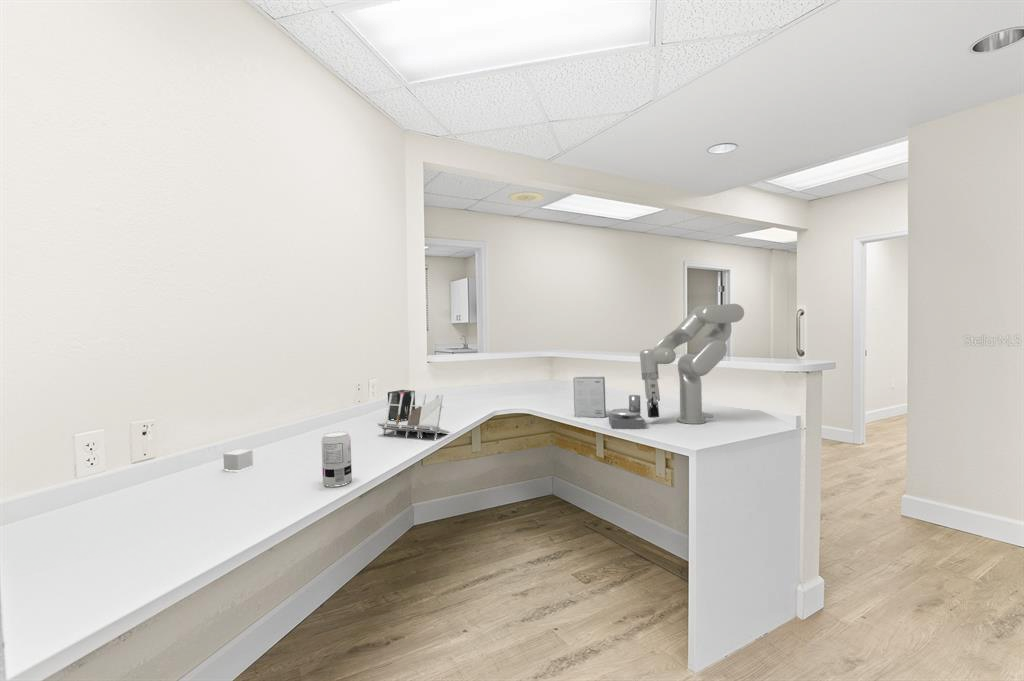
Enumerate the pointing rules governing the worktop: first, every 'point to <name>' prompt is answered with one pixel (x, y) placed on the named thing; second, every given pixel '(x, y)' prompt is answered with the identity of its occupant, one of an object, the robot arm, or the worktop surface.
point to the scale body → (626, 422)
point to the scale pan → (624, 412)
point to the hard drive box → (589, 396)
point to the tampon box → (404, 407)
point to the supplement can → (336, 458)
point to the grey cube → (238, 459)
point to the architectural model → (418, 417)
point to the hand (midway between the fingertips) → (653, 414)
